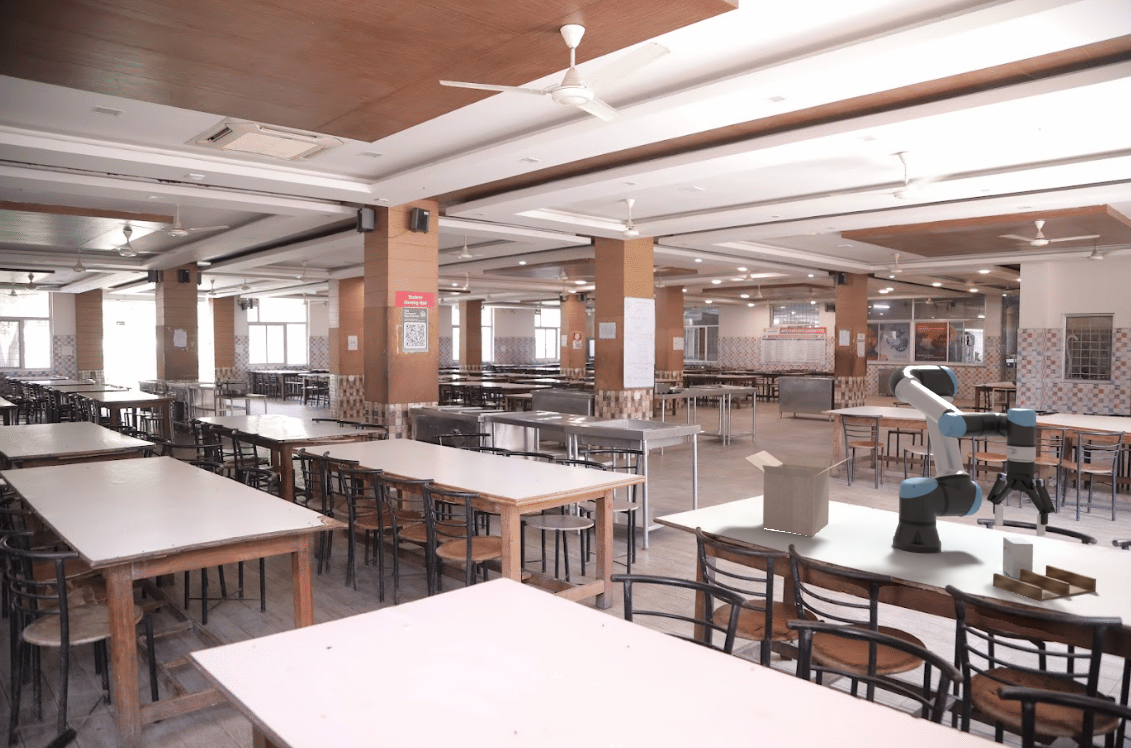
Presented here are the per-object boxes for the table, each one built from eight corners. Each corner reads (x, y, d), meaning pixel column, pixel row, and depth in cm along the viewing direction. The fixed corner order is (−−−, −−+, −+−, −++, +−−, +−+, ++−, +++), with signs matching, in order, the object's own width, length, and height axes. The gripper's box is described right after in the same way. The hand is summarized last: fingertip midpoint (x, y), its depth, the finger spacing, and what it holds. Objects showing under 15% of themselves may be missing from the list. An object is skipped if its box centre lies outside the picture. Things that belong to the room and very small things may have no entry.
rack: (992, 585, 218) (993, 573, 218) (1047, 576, 226) (1048, 565, 226) (1039, 601, 205) (1039, 588, 205) (1095, 591, 213) (1096, 578, 213)
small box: (1032, 579, 224) (1033, 544, 224) (1011, 578, 225) (1012, 543, 225) (1022, 571, 232) (1023, 537, 232) (1002, 570, 233) (1003, 536, 233)
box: (850, 524, 290) (852, 456, 289) (831, 542, 265) (833, 467, 263) (765, 513, 308) (766, 449, 307) (740, 529, 282) (741, 458, 281)
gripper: (975, 455, 237) (974, 522, 238) (1052, 466, 214) (1050, 541, 215) (992, 454, 240) (991, 520, 241) (1070, 465, 217) (1068, 538, 218)
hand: (1019, 530), depth 228 cm, fingers open, 13 cm apart
